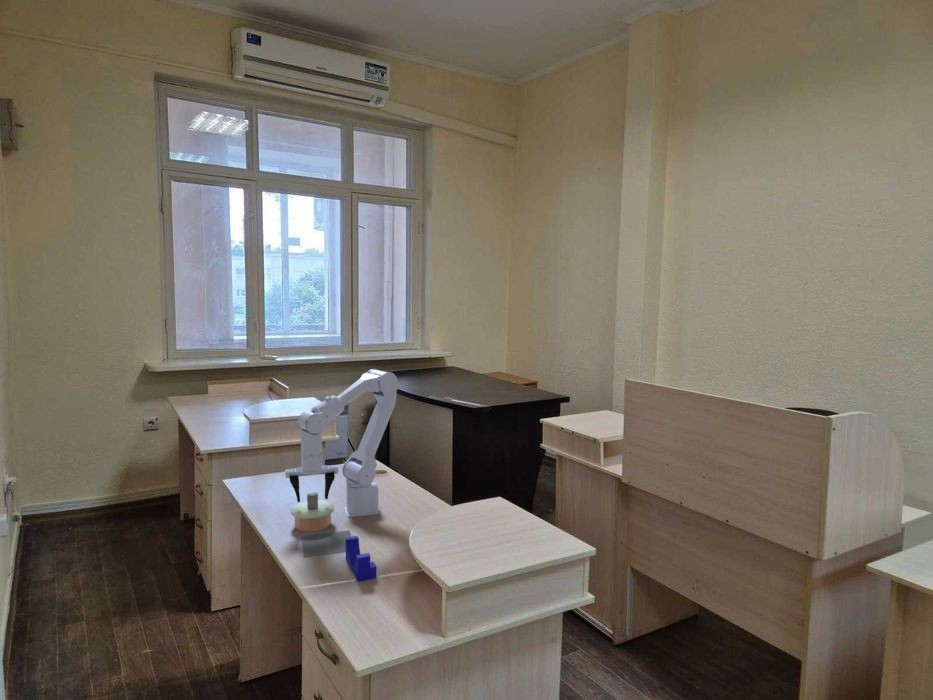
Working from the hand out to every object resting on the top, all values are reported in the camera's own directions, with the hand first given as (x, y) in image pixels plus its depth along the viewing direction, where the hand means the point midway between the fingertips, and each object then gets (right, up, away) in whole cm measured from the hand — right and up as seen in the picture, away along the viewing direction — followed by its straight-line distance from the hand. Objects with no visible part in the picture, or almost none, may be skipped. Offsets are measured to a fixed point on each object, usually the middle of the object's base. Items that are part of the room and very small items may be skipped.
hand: (312, 499), depth 167 cm
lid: (0, -3, 0) cm, 3 cm away
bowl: (0, -8, +1) cm, 8 cm away
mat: (+7, -9, -11) cm, 16 cm away
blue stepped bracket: (+18, -11, -24) cm, 32 cm away
